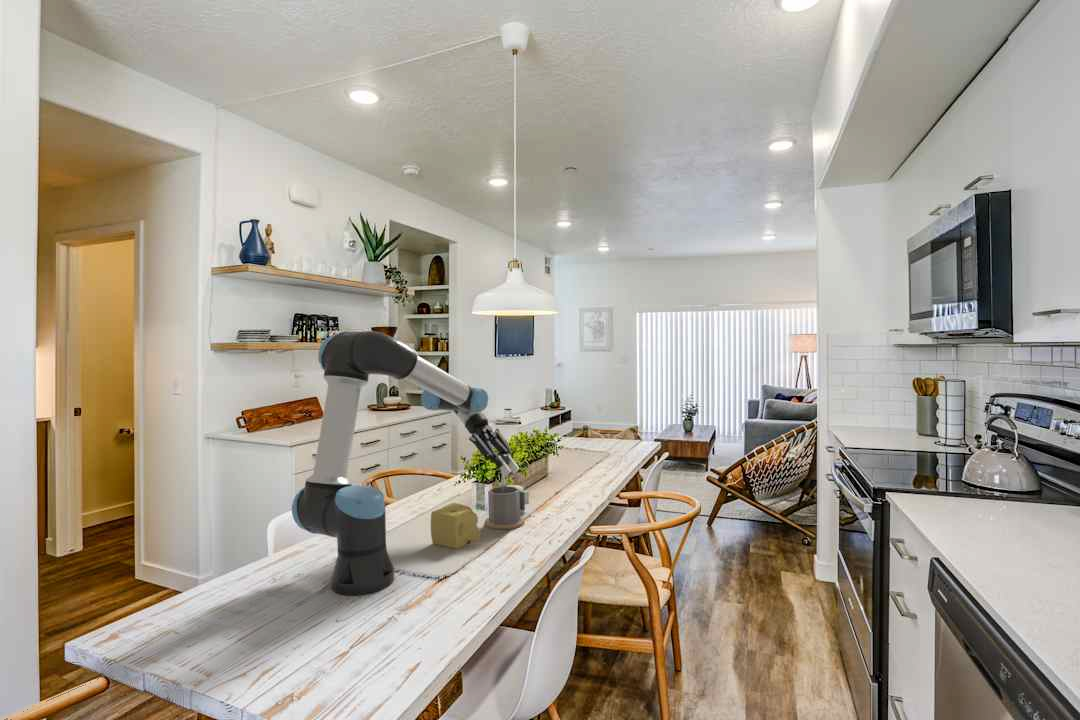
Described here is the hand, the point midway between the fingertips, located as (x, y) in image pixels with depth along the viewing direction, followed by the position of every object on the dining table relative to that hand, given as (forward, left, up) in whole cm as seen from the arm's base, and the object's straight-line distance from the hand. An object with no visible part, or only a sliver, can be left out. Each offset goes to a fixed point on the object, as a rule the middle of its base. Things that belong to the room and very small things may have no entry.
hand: (512, 472), depth 182 cm
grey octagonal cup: (+3, +2, -17) cm, 18 cm away
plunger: (+3, +2, -11) cm, 11 cm away
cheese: (-4, +22, -18) cm, 28 cm away
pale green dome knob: (+11, -6, -17) cm, 22 cm away
